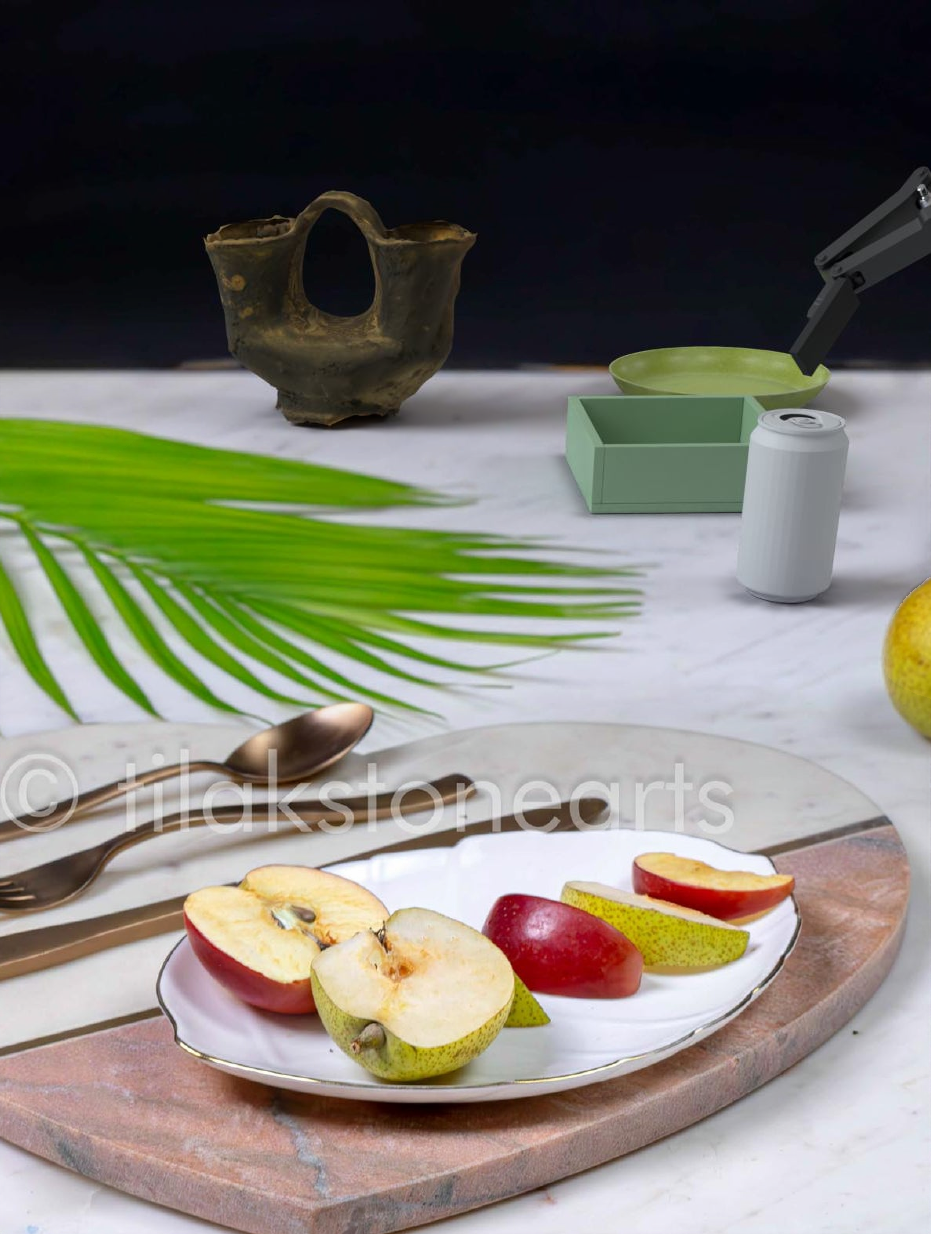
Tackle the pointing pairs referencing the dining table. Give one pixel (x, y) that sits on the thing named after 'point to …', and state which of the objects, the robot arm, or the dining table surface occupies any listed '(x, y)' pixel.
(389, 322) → the pottery vessel
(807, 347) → the robot arm
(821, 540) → the beverage can
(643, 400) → the bin
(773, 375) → the saucer
